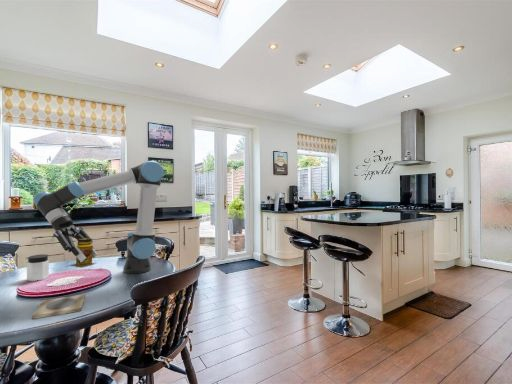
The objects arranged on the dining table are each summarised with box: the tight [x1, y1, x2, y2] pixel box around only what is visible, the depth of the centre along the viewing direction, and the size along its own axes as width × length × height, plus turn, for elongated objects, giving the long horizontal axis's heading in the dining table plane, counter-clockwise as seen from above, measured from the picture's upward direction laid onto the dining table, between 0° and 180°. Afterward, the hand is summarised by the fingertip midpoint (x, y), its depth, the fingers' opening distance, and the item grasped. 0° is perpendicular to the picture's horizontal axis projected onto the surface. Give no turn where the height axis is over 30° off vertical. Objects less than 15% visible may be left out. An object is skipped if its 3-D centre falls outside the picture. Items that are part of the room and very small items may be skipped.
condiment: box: [68, 237, 97, 268], centre depth 118 cm, size 7×8×12 cm
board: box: [32, 293, 86, 320], centre depth 105 cm, size 15×15×1 cm
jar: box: [26, 254, 50, 282], centre depth 138 cm, size 9×8×12 cm
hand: (89, 258), depth 117 cm, fingers closed on condiment, 6 cm apart
